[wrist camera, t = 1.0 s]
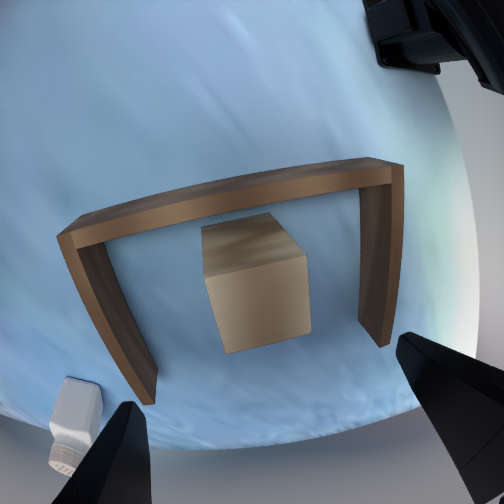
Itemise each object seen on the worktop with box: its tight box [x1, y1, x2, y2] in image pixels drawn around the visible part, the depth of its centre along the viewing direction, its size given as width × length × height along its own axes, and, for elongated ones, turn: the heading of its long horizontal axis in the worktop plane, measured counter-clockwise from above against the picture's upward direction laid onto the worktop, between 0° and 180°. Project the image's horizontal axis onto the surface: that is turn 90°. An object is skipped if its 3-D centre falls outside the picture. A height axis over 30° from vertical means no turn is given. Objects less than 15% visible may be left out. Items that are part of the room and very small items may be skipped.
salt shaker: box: [49, 377, 103, 477], centre depth 18 cm, size 4×4×10 cm
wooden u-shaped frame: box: [56, 157, 404, 405], centre depth 18 cm, size 20×14×4 cm
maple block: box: [201, 213, 311, 354], centre depth 16 cm, size 4×4×7 cm
